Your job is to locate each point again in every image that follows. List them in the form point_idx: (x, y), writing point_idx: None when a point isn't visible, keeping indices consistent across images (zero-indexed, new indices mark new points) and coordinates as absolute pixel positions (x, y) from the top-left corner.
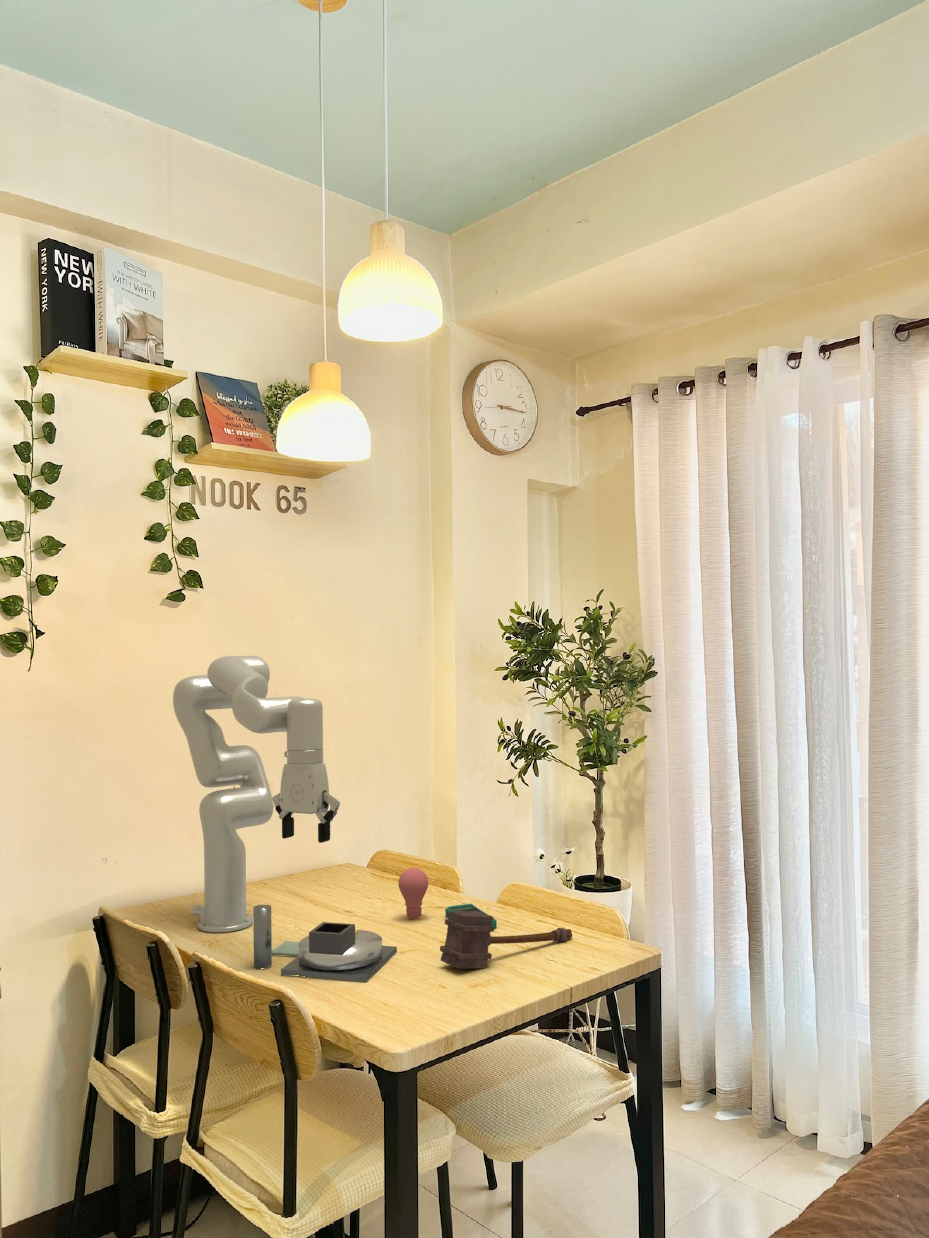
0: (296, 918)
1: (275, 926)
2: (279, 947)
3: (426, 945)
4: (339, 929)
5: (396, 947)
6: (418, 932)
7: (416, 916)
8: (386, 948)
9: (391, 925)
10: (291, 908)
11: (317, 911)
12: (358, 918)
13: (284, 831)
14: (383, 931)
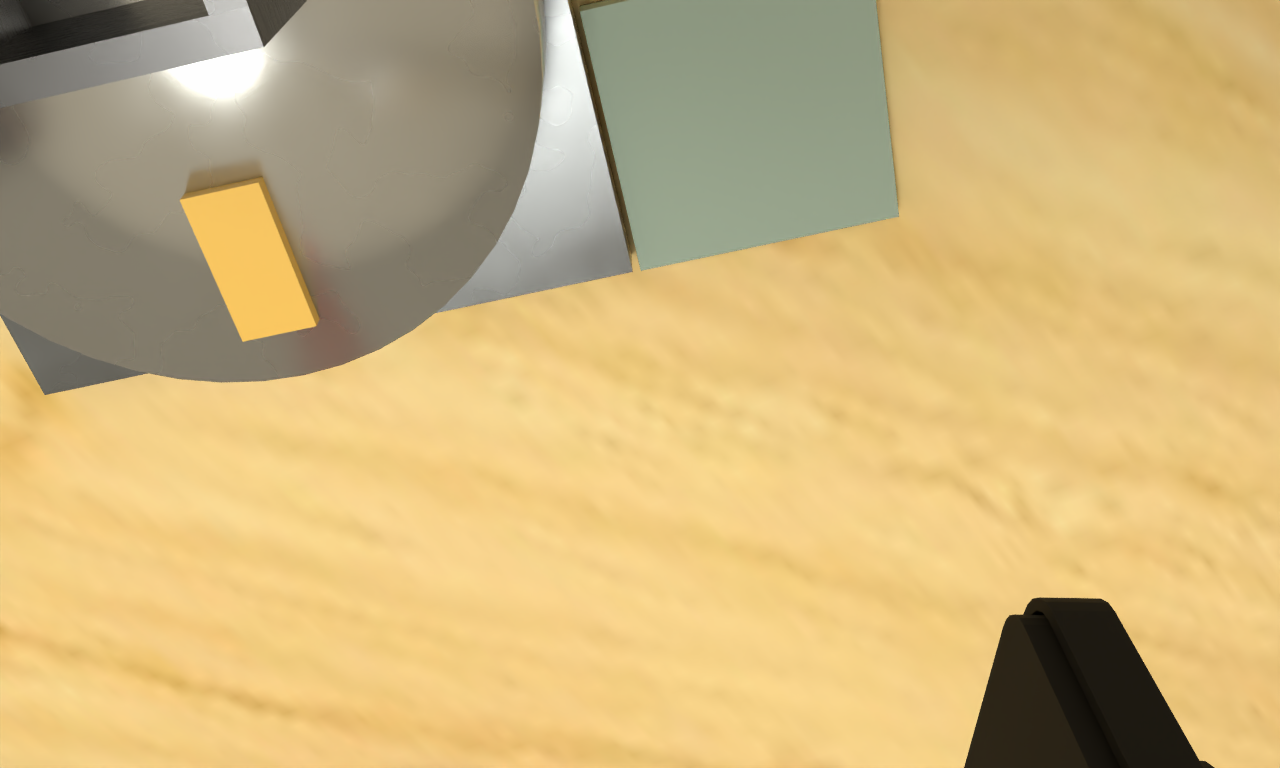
0: None
1: (1167, 463)
2: (860, 74)
3: (4, 544)
4: (76, 35)
5: (44, 387)
6: (228, 696)
7: None
8: None
9: (461, 729)
10: (1234, 744)
11: None
12: (727, 751)
13: (1090, 734)
14: (430, 638)
